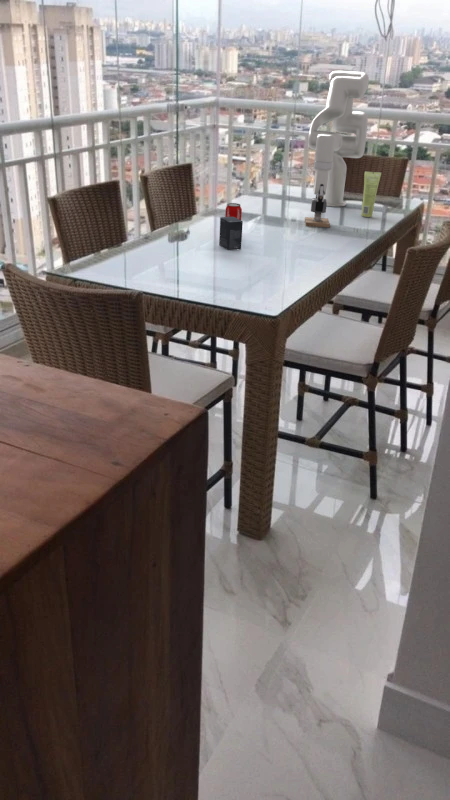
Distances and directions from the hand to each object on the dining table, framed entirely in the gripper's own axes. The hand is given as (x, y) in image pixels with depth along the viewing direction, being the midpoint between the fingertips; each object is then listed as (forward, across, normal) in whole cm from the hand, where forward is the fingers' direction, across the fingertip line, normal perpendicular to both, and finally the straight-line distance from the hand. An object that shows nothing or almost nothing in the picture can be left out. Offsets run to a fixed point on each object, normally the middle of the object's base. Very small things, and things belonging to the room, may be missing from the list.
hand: (318, 209), depth 298 cm
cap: (+1, 0, 0) cm, 1 cm away
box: (+7, +46, -35) cm, 58 cm away
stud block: (+6, 0, 0) cm, 6 cm away
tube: (+6, -21, +24) cm, 33 cm away
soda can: (+7, +28, -35) cm, 45 cm away
